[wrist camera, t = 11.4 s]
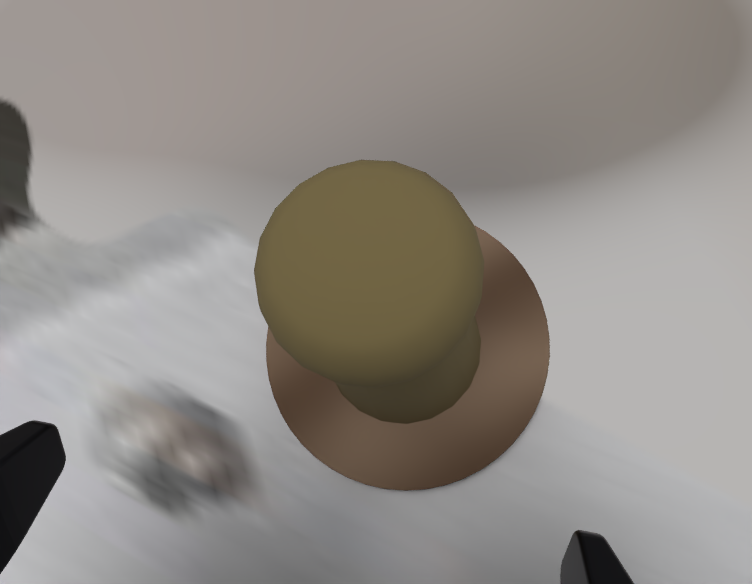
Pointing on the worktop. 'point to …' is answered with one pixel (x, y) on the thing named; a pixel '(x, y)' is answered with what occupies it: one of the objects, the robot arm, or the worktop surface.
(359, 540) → the worktop surface
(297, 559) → the worktop surface
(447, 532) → the worktop surface
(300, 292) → the cork
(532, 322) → the walnut plate
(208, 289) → the worktop surface
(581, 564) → the robot arm
